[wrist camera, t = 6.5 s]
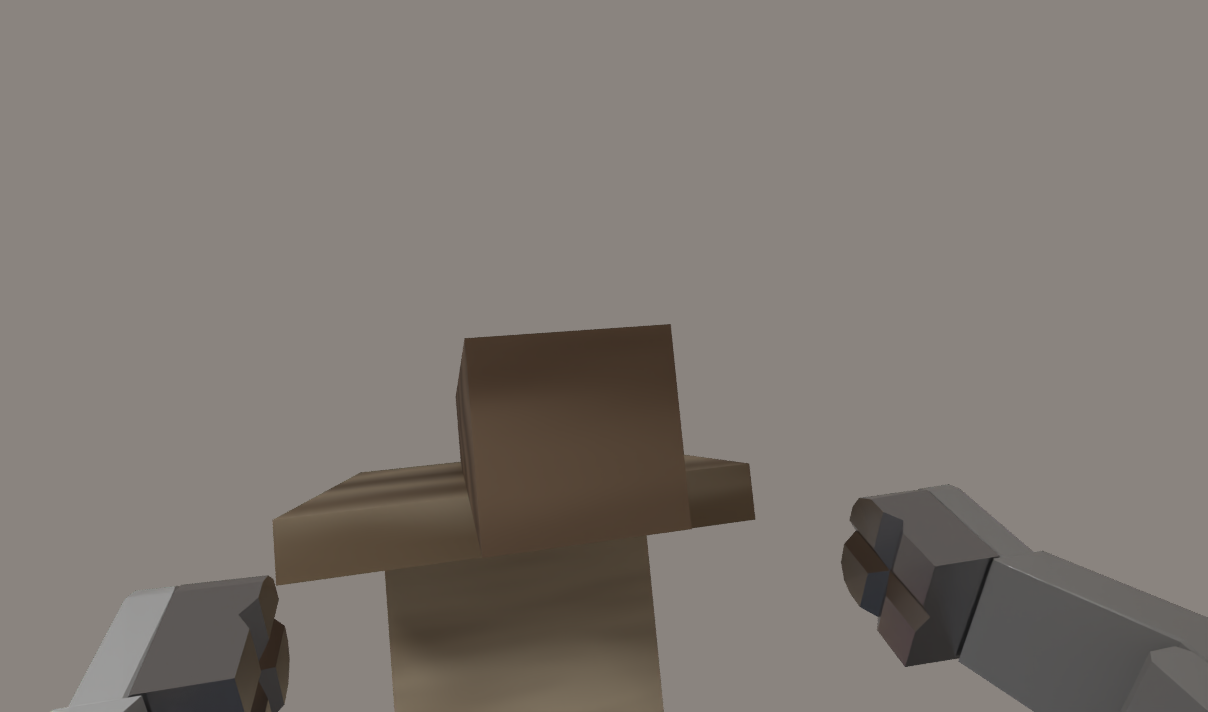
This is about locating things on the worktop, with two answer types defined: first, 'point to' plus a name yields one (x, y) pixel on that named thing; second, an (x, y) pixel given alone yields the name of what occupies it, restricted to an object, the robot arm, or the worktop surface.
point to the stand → (497, 593)
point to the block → (571, 438)
